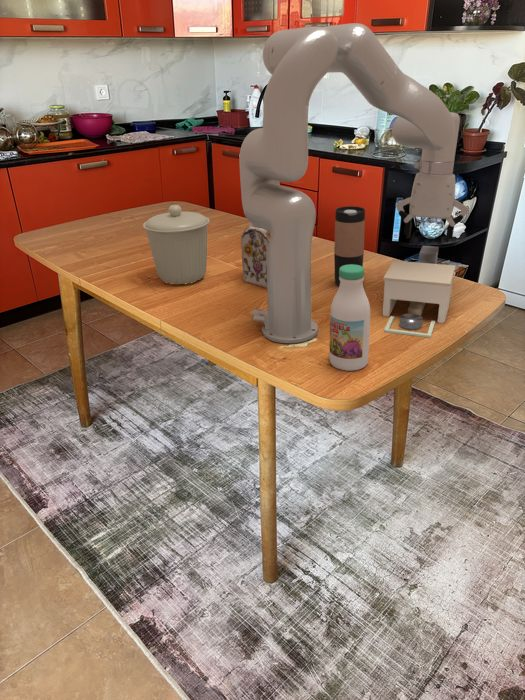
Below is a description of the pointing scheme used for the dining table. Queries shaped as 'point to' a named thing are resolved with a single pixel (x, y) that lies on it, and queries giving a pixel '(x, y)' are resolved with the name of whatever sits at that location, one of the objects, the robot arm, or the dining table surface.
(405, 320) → the ball
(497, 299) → the dining table surface
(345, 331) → the milk bottle
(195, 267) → the canister
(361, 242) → the travel mug
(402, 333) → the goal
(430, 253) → the grey block on stick
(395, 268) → the white open box
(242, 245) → the decorative jar
